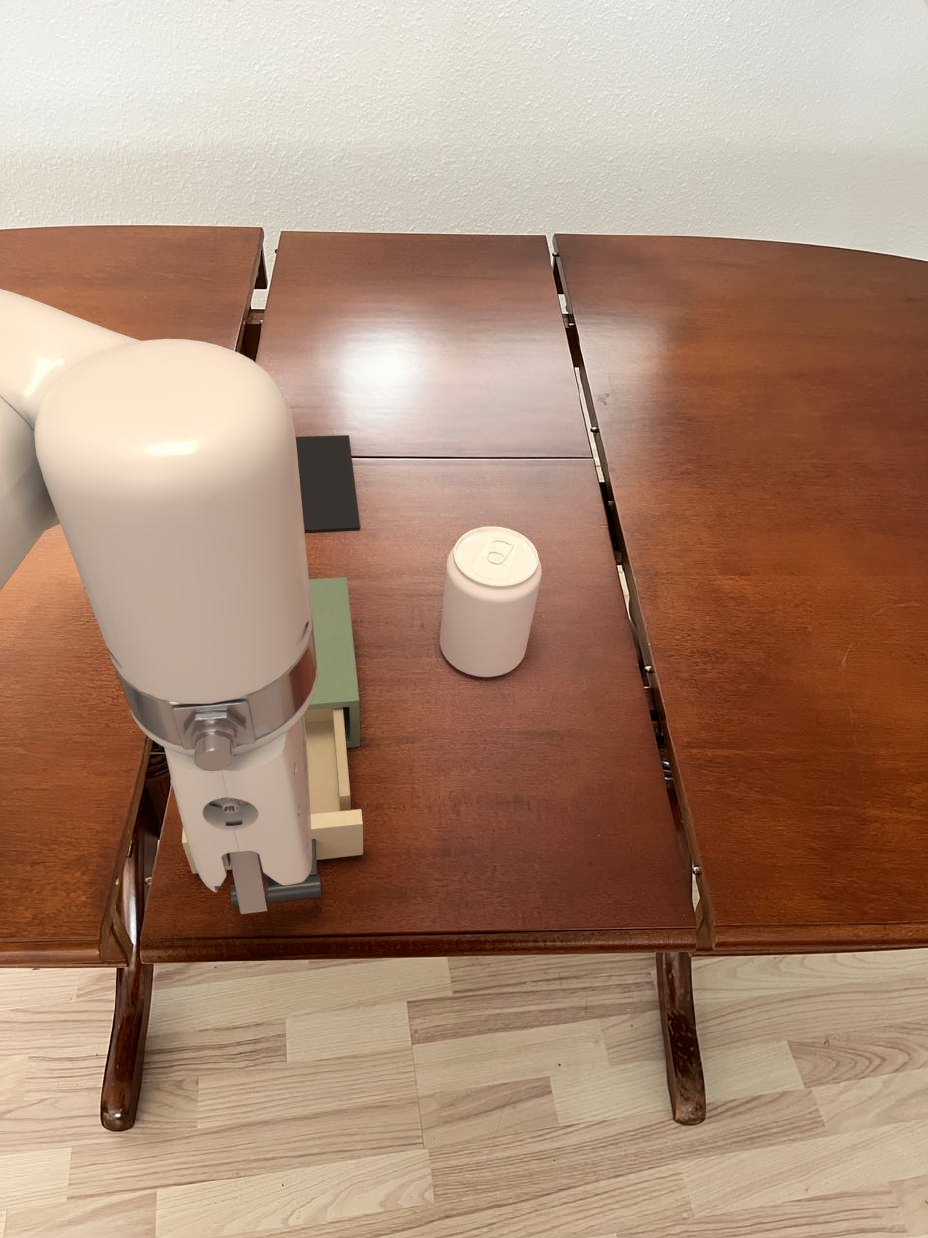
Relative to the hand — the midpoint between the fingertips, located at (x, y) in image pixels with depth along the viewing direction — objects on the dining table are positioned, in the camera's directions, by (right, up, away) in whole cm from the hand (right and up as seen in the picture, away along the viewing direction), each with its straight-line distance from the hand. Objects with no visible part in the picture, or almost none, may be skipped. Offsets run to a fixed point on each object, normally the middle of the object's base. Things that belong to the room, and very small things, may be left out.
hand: (267, 867), depth 47 cm
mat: (-11, +28, +46) cm, 55 cm away
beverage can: (+13, +11, +33) cm, 37 cm away
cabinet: (-6, +8, +28) cm, 29 cm away
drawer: (-3, -1, +19) cm, 19 cm away
